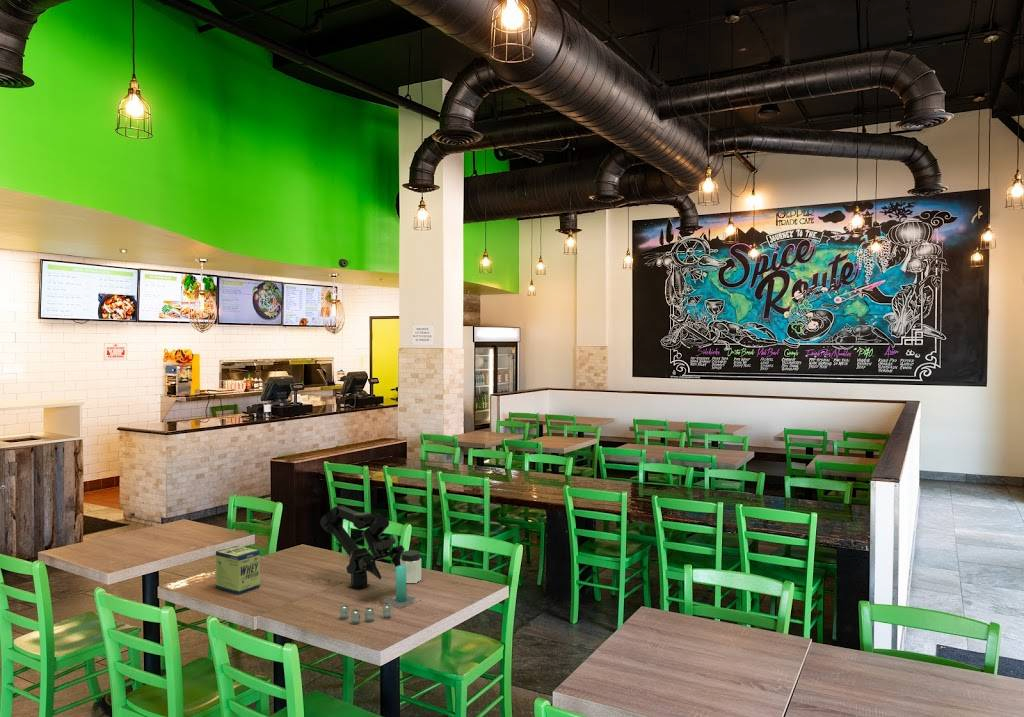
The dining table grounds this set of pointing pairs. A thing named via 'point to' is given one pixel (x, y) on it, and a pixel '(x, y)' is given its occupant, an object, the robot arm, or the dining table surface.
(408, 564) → the jar
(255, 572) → the protein box
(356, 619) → the spacer posts
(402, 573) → the teal dowel
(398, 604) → the mat
